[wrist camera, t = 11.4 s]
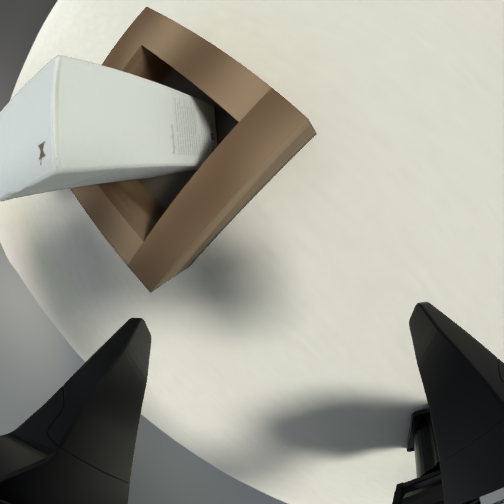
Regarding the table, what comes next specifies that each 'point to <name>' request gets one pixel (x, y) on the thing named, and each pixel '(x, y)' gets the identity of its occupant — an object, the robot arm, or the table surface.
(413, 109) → the table surface
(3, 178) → the skincare box
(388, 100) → the table surface
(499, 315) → the table surface
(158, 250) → the socket block
